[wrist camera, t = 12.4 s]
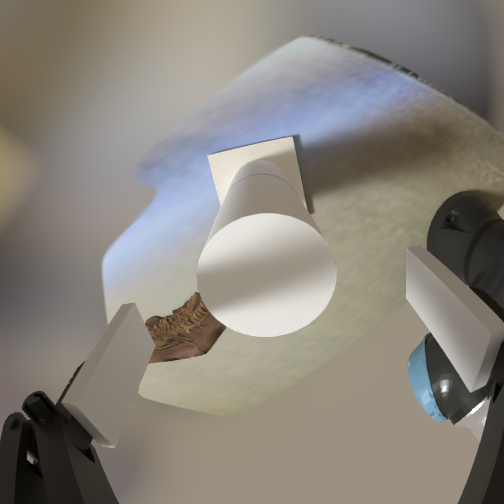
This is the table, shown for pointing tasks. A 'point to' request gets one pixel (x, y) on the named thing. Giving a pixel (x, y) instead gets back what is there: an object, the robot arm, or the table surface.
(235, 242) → the cylindrical container
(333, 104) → the table surface
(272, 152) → the ceramic tile
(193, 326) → the brown relief tablet
